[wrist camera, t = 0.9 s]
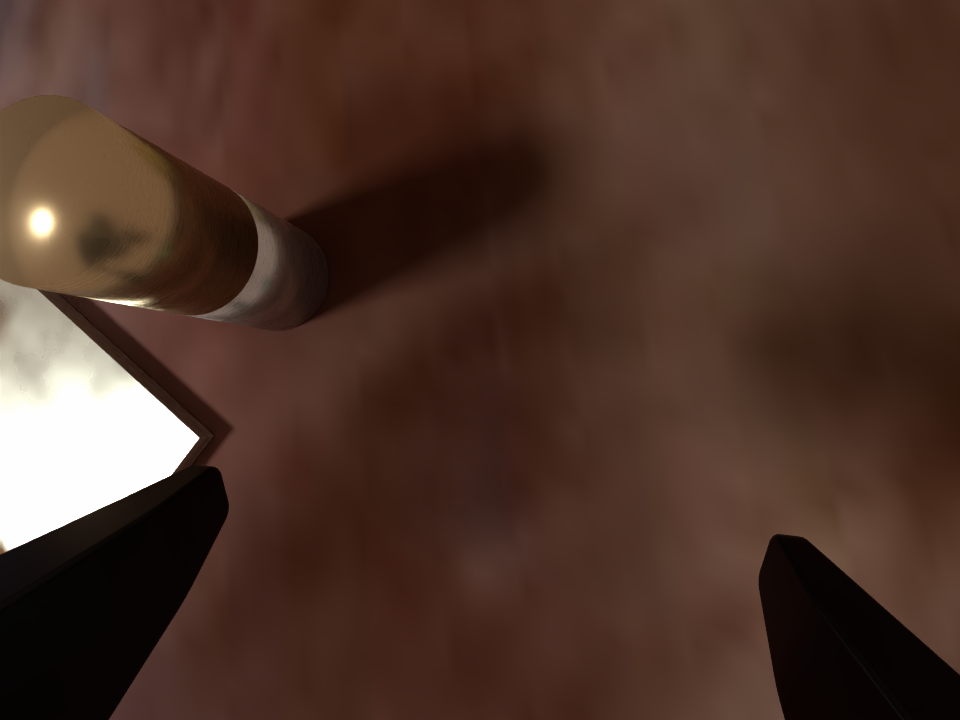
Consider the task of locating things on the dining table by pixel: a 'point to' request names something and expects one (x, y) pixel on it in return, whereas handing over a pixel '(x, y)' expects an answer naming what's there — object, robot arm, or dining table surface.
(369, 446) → the dining table surface
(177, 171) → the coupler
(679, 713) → the dining table surface
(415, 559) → the dining table surface
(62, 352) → the stand
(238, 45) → the dining table surface
